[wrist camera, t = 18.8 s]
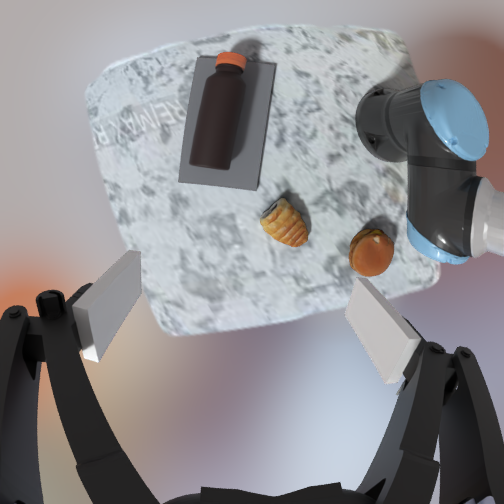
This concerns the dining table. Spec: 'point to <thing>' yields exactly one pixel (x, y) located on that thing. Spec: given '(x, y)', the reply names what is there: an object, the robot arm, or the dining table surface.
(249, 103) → the mat
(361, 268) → the burger
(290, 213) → the pastry
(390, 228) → the dining table surface
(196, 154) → the vinegar
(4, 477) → the robot arm
